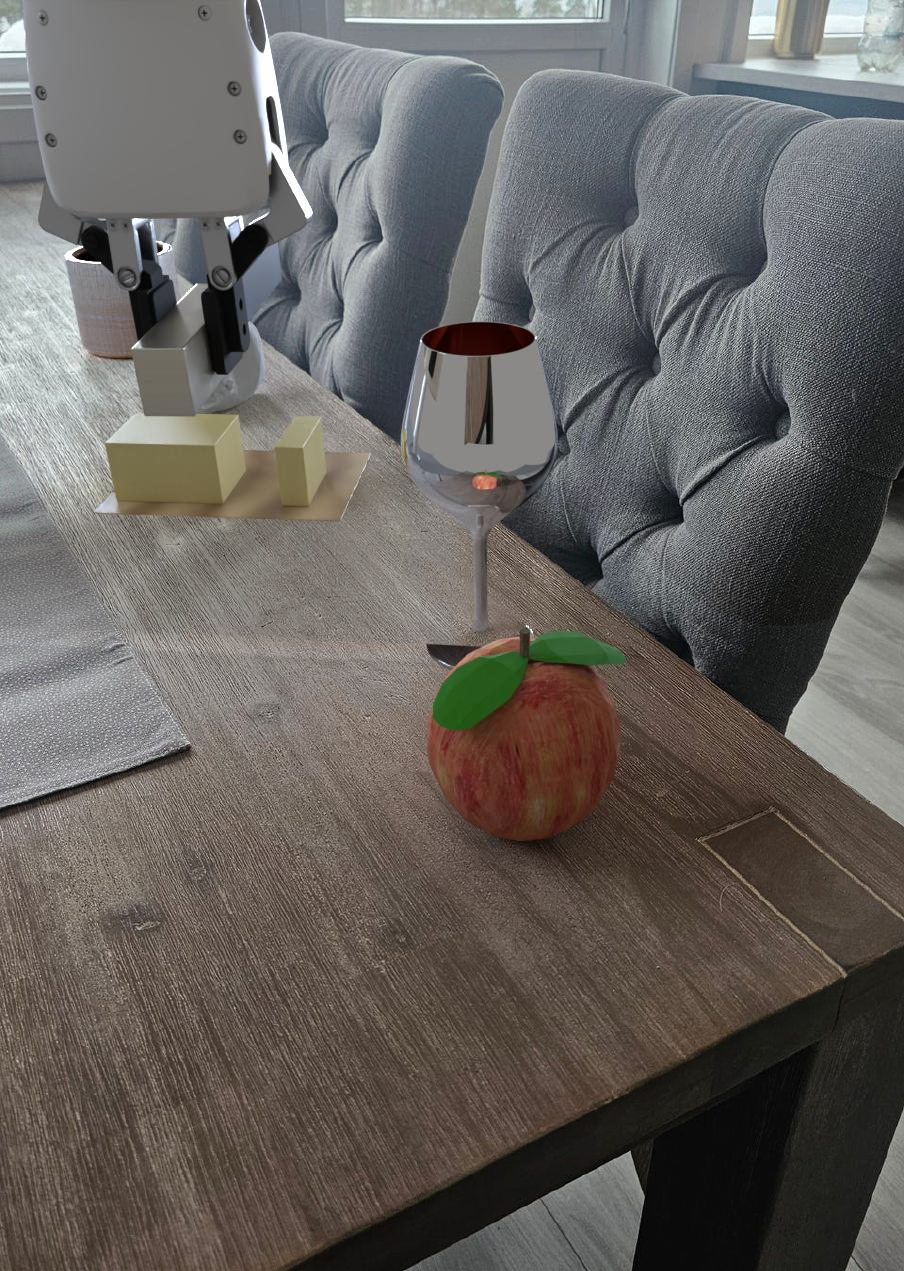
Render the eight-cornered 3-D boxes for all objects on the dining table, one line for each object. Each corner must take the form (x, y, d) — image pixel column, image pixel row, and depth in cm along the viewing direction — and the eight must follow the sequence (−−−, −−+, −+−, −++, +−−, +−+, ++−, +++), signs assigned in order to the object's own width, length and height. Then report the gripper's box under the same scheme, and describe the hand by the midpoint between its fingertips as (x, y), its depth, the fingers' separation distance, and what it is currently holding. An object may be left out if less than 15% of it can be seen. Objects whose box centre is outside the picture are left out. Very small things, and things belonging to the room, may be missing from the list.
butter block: (116, 501, 77) (104, 442, 74) (146, 467, 82) (135, 412, 79) (223, 504, 76) (214, 445, 73) (246, 470, 81) (238, 414, 78)
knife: (194, 417, 48) (182, 348, 46) (144, 416, 48) (130, 348, 47) (298, 279, 66) (292, 226, 64) (260, 279, 67) (253, 226, 65)
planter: (200, 329, 117) (186, 239, 112) (169, 361, 108) (152, 264, 102) (106, 329, 118) (87, 239, 113) (66, 360, 109) (45, 264, 104)
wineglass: (576, 632, 63) (591, 329, 53) (503, 700, 57) (504, 375, 47) (461, 595, 67) (456, 306, 57) (383, 655, 61) (361, 347, 51)
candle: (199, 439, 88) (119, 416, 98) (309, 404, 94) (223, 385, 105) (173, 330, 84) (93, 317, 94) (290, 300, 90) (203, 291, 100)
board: (95, 527, 76) (92, 512, 75) (154, 461, 86) (151, 447, 85) (341, 536, 74) (340, 520, 73) (372, 466, 84) (371, 452, 83)
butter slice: (281, 506, 75) (274, 447, 73) (301, 471, 80) (295, 415, 78) (308, 506, 75) (302, 447, 73) (326, 472, 80) (321, 416, 78)
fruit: (396, 784, 51) (384, 608, 46) (568, 732, 55) (576, 561, 49) (470, 905, 45) (466, 715, 39) (661, 837, 48) (682, 653, 42)
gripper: (342, -90, 45) (372, 343, 54) (-21, -76, 46) (72, 342, 56) (303, -98, 38) (345, 393, 48) (-115, -81, 40) (8, 391, 50)
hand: (198, 362), depth 52 cm, fingers closed on knife, 2 cm apart
